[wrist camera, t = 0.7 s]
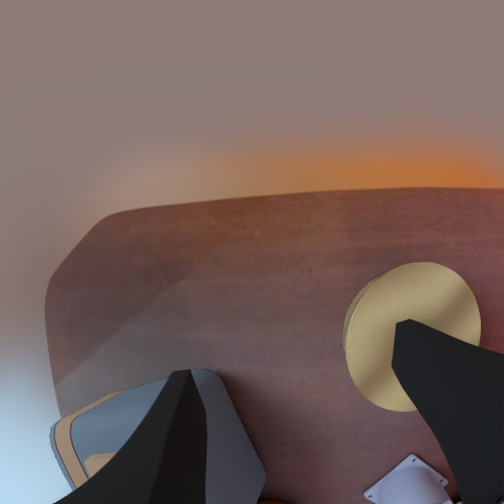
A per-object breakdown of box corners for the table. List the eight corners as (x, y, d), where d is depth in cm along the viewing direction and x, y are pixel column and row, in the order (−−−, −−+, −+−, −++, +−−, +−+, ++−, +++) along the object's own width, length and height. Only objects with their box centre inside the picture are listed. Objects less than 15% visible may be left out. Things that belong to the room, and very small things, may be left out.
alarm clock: (106, 391, 33) (18, 432, 17) (218, 359, 31) (150, 416, 16) (160, 493, 31) (105, 560, 15) (273, 476, 29) (253, 571, 13)
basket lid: (495, 324, 23) (521, 329, 18) (408, 431, 23) (423, 453, 18) (411, 231, 25) (431, 221, 20) (312, 347, 25) (314, 360, 21)
